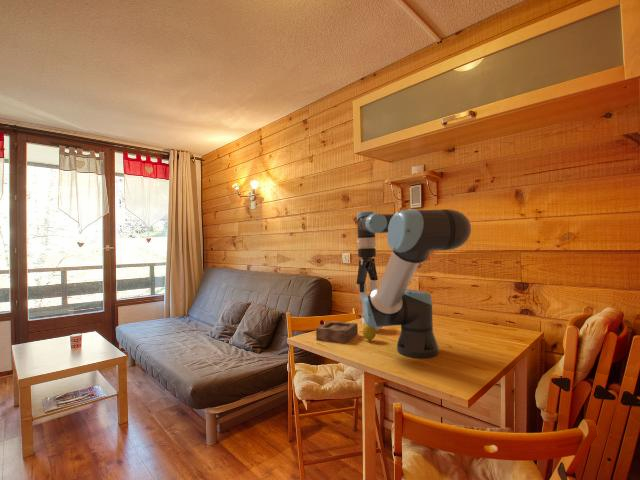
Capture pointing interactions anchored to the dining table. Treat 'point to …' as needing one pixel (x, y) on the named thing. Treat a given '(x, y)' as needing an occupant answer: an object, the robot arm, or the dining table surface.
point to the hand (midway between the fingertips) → (368, 297)
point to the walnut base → (337, 332)
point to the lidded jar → (365, 323)
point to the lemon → (369, 332)
